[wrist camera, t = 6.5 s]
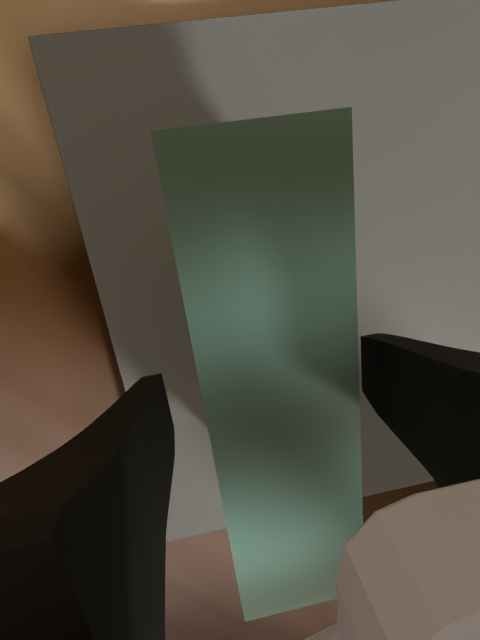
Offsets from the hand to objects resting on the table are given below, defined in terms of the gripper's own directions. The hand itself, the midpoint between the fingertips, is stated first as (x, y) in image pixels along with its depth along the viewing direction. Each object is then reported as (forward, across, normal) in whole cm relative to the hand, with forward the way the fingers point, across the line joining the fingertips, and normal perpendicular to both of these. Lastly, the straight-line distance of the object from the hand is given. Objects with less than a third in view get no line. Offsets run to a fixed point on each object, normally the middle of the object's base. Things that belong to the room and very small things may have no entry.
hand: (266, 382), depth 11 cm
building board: (+7, -7, 0) cm, 10 cm away
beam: (+2, 0, 0) cm, 2 cm away
